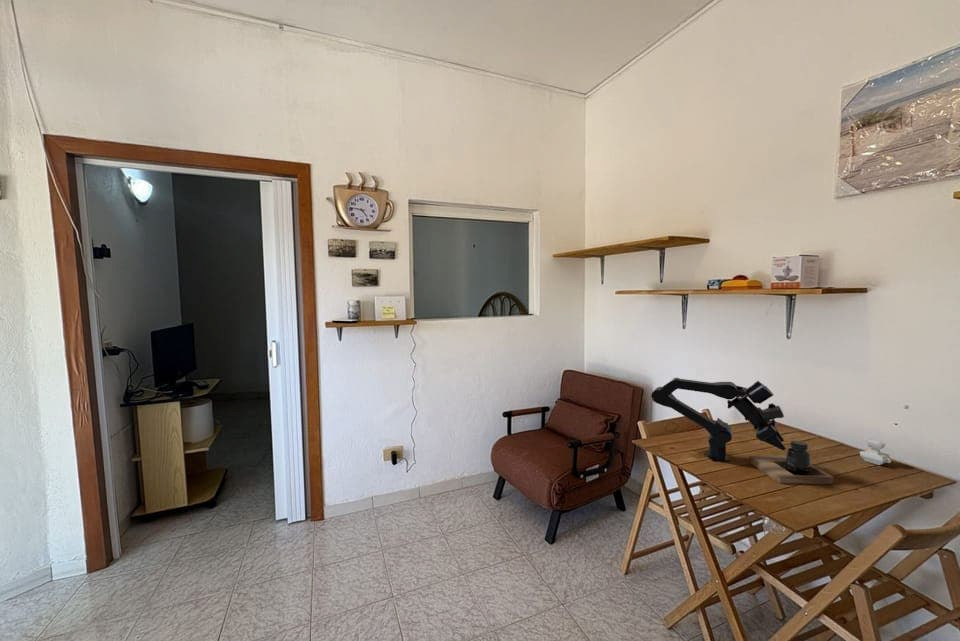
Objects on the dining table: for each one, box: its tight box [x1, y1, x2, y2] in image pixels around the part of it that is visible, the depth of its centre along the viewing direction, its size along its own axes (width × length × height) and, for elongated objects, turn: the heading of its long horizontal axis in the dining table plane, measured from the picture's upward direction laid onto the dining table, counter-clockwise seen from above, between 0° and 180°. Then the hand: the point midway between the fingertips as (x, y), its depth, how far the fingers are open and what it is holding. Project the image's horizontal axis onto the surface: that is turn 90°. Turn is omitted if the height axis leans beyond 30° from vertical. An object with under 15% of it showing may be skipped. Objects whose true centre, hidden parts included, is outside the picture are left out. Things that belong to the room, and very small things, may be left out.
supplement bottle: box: [785, 439, 812, 475], centre depth 143 cm, size 7×7×12 cm
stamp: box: [859, 439, 892, 466], centre depth 152 cm, size 9×7×8 cm
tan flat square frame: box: [747, 454, 835, 485], centre depth 145 cm, size 17×18×2 cm
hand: (783, 445), depth 145 cm, fingers open, 9 cm apart
